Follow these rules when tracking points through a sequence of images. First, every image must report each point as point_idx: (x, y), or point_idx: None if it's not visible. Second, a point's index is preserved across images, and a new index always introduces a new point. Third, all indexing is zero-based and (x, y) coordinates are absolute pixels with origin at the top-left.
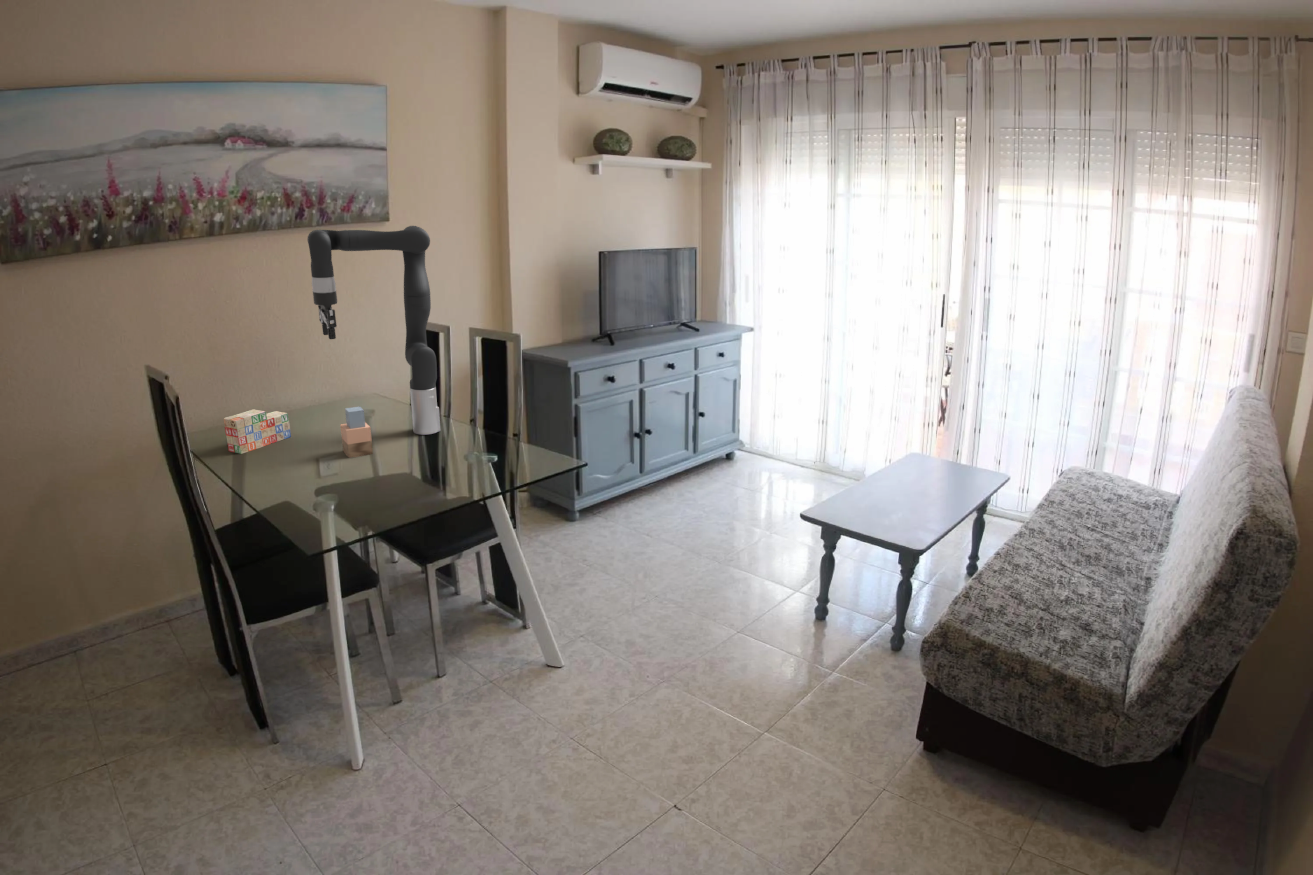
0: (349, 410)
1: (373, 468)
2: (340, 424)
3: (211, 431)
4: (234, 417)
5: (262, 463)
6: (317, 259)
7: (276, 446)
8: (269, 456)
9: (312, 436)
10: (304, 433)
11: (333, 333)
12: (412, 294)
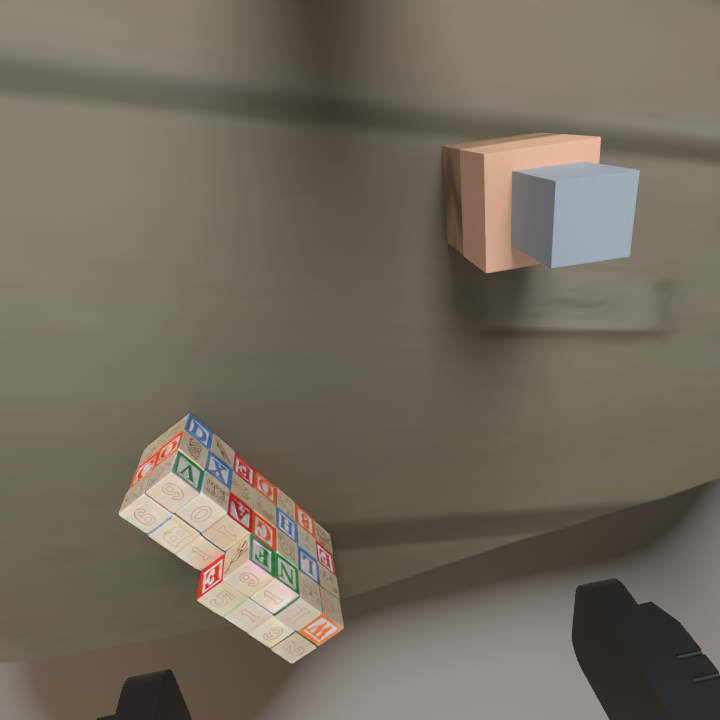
0: (602, 248)
1: (691, 157)
2: (487, 272)
3: (48, 628)
4: (296, 638)
5: (449, 478)
6: None
7: (291, 451)
8: (391, 465)
9: (206, 341)
10: (153, 368)
11: (718, 688)
12: None
